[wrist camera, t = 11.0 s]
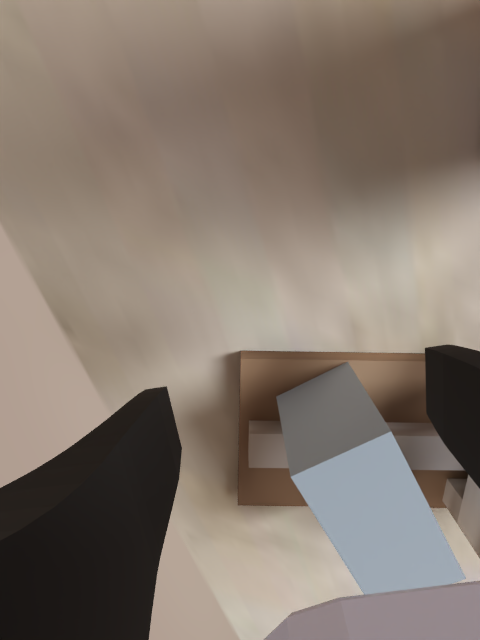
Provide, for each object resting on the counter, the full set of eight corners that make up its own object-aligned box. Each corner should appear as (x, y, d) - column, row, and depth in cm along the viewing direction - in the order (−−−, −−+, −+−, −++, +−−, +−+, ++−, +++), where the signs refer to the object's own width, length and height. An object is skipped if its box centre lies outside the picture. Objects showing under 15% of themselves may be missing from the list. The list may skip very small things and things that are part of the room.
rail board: (566, 355, 21) (718, 434, 14) (525, 496, 24) (636, 615, 17) (240, 350, 21) (241, 427, 14) (237, 492, 24) (237, 611, 17)
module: (347, 361, 20) (391, 431, 14) (411, 485, 22) (470, 587, 17) (276, 396, 21) (290, 476, 15) (345, 513, 23) (381, 621, 17)
